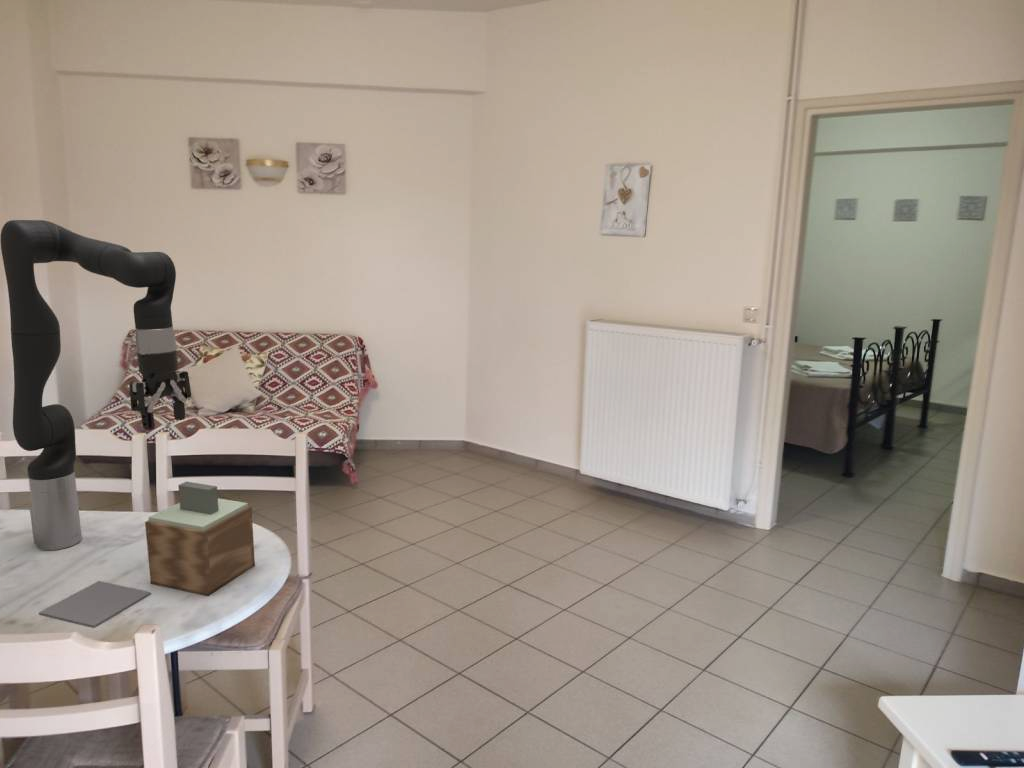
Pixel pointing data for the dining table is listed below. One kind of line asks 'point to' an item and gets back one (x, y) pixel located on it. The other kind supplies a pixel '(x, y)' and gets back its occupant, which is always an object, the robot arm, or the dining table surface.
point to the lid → (198, 508)
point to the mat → (95, 604)
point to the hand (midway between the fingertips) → (164, 424)
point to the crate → (200, 554)
